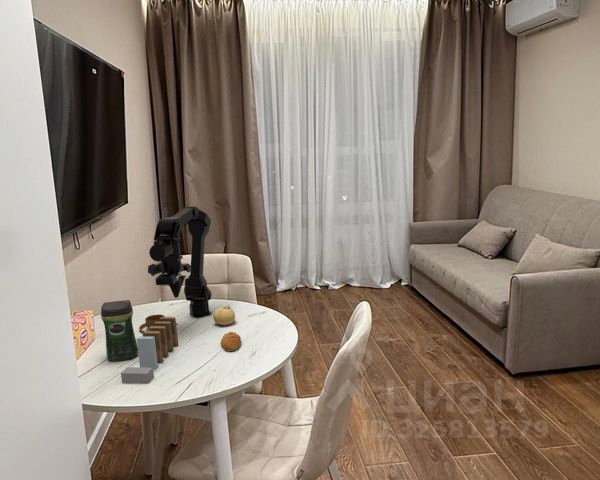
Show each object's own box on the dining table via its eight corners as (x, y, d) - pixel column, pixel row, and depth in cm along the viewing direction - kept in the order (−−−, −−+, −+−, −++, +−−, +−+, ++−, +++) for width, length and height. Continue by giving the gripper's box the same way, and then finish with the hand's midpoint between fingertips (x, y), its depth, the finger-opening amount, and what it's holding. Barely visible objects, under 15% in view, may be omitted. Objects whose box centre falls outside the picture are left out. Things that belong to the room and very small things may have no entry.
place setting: (138, 341, 186) (136, 325, 185) (118, 326, 202) (117, 311, 201) (184, 328, 197) (183, 313, 195) (162, 315, 212) (160, 301, 211)
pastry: (242, 351, 172) (241, 340, 171) (221, 354, 171) (220, 343, 170) (240, 340, 181) (239, 330, 180) (220, 343, 180) (219, 332, 179)
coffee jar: (139, 349, 177) (133, 296, 174) (136, 359, 170) (130, 303, 166) (109, 353, 176) (102, 299, 172) (105, 363, 168) (97, 307, 164)
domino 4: (164, 345, 180) (161, 317, 178) (178, 345, 179) (175, 317, 177) (162, 347, 179) (159, 318, 177) (176, 347, 178) (173, 318, 176)
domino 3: (153, 355, 172) (150, 326, 170) (168, 355, 171) (165, 326, 169) (151, 357, 170) (148, 328, 168) (166, 357, 170) (163, 328, 168)
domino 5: (159, 350, 176) (156, 321, 174) (173, 350, 175) (170, 321, 173) (157, 352, 175) (153, 323, 173) (171, 352, 174) (168, 323, 172)
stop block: (128, 376, 158) (127, 367, 157) (154, 377, 157) (152, 367, 156) (122, 382, 154) (120, 373, 153) (148, 383, 153) (147, 373, 152)
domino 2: (148, 361, 168) (144, 331, 166) (163, 361, 167) (160, 331, 165) (146, 363, 166) (142, 333, 164) (161, 363, 166) (158, 333, 164)
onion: (220, 329, 192) (219, 310, 191) (209, 324, 198) (208, 305, 197) (239, 323, 197) (238, 305, 195) (228, 318, 203) (226, 300, 202)
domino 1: (142, 367, 164) (138, 336, 162) (158, 367, 163) (154, 336, 161) (140, 369, 162) (136, 338, 160) (155, 369, 161) (152, 338, 159)
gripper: (160, 248, 196) (165, 289, 199) (138, 261, 178) (143, 306, 181) (189, 248, 194) (193, 289, 197) (170, 260, 176) (174, 306, 179)
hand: (176, 297), depth 189 cm, fingers closed
